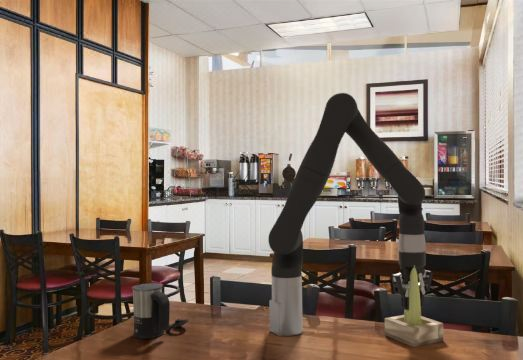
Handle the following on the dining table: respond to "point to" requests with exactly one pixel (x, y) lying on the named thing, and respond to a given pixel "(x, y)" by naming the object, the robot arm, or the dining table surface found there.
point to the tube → (413, 301)
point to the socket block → (414, 331)
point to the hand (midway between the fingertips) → (412, 307)
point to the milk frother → (152, 311)
